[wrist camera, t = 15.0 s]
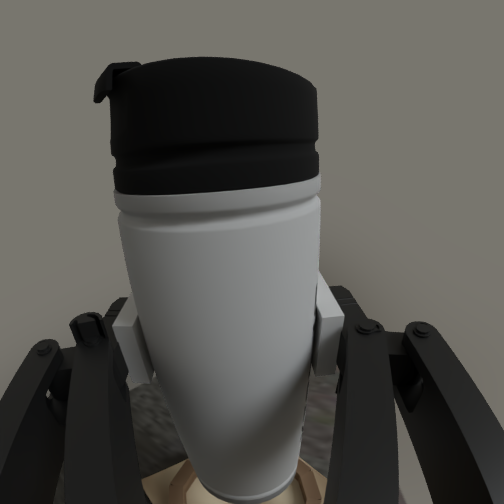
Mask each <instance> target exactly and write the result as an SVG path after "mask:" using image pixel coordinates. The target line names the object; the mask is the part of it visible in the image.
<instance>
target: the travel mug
mask: <svg viewBox="0 0 504 504" xmlns="http://www.w3.org/2000/svg"><path fill="white" fill-rule="evenodd" d="M106 96H108V98H109V99H110V115H111V116H110V117H111V140H110V144H111V154H112V156H114V157H115V159H116V167H115V168H114V169H113V175H114V183H115V190H114V198H115V203H116V206H117V207H118V208H119V209H120V210H121V212H120V213H119V217H118V224H119V229H120V236H121V241H122V246H123V252H124V257H125V261H126V266H127V271H128V275H129V280H130V284H131V288H132V293H133V297H134V301H135V305H136V309H137V313H138V316H139V320H140V324H141V327H142V331H143V334H144V338H145V341H146V345H147V348H148V351H149V354H150V358H151V361H152V364H153V367H154V370H155V373H156V376H157V379H158V382H159V385H160V388H161V390H162V393H163V396H164V399H165V401H166V404H167V407H168V409H169V412H170V415H171V417H172V420H173V422H174V425H175V427H176V430H177V432H178V435H179V437H180V439H181V442H182V444H183V446H184V449H185V451H186V453H187V455H188V458H189V460H190V462H191V464H192V466H193V469H194V470H195V473H196V475H197V477H198V479H199V481H200V482H201V484H202V485H203V487H204V488H205V489H206V490H207V491H208V492H209V493H210V494H212V495H213V496H215V497H216V498H218V499H220V500H223V501H225V502H228V503H232V504H260V503H263V502H266V501H269V500H271V499H273V498H275V497H277V496H278V495H280V494H281V493H282V492H283V491H285V490H286V489H287V488H288V486H289V485H290V484H291V482H292V481H293V479H294V476H295V474H296V469H297V464H298V457H299V452H300V445H301V439H302V432H303V425H304V418H305V411H306V403H307V396H308V387H309V379H310V370H311V360H312V350H313V339H314V328H315V315H316V302H317V286H318V267H319V245H320V243H319V242H320V210H321V209H320V208H321V207H320V206H321V201H320V199H319V198H318V197H317V195H316V194H317V193H318V192H319V191H320V189H321V173H319V154H318V152H316V151H315V142H316V141H317V140H318V110H317V91H316V88H315V87H314V86H313V85H312V84H311V82H310V81H308V80H306V79H305V78H303V77H301V76H300V75H298V74H296V73H293V72H291V71H288V70H286V69H283V68H280V67H276V66H272V65H269V64H265V63H260V62H255V61H249V60H243V59H235V58H223V57H188V58H173V59H167V60H161V61H156V62H150V63H146V64H143V65H141V64H140V63H139V62H122V63H112V64H110V65H108V67H107V68H106V69H105V71H104V72H103V73H102V74H101V76H100V77H99V78H98V80H97V82H96V84H95V90H94V102H95V103H101V102H102V100H103V99H104V98H105V97H106Z"/></svg>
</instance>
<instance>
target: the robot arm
mask: <svg viewBox="0 0 504 504" xmlns="http://www.w3.org/2000/svg"><path fill="white" fill-rule="evenodd" d="M69 326H70V328H71V331H72V333H73V336H74V339H75V341H76V343H77V344H76V346H75V347H70V348H64V349H60V346H59V344H58V342H57V341H55V340H52V339H45V340H42V341H39V342H38V343H37V344H35V345H34V346H33V348H31V350H30V351H29V353H28V355H27V356H26V358H25V359H24V361H23V363H22V364H21V366H20V367H19V369H18V371H17V372H16V374H15V376H14V377H13V379H12V381H11V383H10V384H9V386H8V388H7V390H6V391H5V393H4V395H3V397H2V399H1V400H0V504H53V499H54V495H55V490H56V486H57V482H58V478H59V474H60V470H61V467H62V463H63V459H64V489H65V504H147V503H146V499H145V495H144V490H143V485H142V480H141V475H140V470H139V464H138V459H137V453H136V446H135V439H134V432H133V425H132V416H131V407H130V397H129V388H128V386H127V383H126V378H127V375H128V372H129V375H130V377H131V380H132V382H133V383H150V384H151V380H152V377H153V373H154V367H153V364H152V361H151V358H150V354H149V351H148V348H147V345H146V341H145V338H144V334H143V331H142V327H141V324H140V320H139V316H138V313H137V309H136V305H135V301H134V297H133V293H132V292H131V294H130V296H129V297H126V298H119V299H117V300H116V301H115V302H114V303H112V305H111V306H110V308H109V309H108V312H107V313H106V314H105V317H103V318H102V316H101V315H100V314H99V313H95V312H88V313H84V314H81V315H79V316H77V317H75V318H74V319H73V320H72V321H71V322H70V324H69ZM311 364H312V367H313V370H314V374H315V377H317V376H325V375H332V374H335V370H336V365H338V368H339V370H340V374H339V379H338V383H337V388H336V393H337V403H336V414H335V424H334V434H333V442H332V450H331V458H330V465H329V472H328V479H327V485H326V491H325V497H324V503H323V504H398V497H399V476H398V475H399V470H398V442H397V426H396V413H395V403H394V398H395V400H396V403H397V405H398V408H399V410H400V413H401V415H402V418H403V420H404V422H405V425H406V428H407V430H408V433H409V436H410V438H411V441H412V444H413V446H414V449H415V451H416V454H417V457H418V460H419V463H420V465H421V468H422V471H423V474H424V477H425V480H426V483H427V485H428V489H429V492H430V495H431V498H432V501H433V504H504V430H503V429H502V427H501V425H500V423H499V422H498V420H497V418H496V417H495V415H494V413H493V412H492V410H491V408H490V407H489V405H488V403H487V402H486V400H485V399H484V397H483V395H482V394H481V392H480V391H479V389H478V388H477V386H476V385H475V383H474V382H473V380H472V379H471V377H470V376H469V374H468V373H467V371H466V370H465V368H464V367H463V365H462V364H461V362H460V361H459V360H458V358H457V357H456V355H455V354H454V352H453V351H452V350H451V348H450V347H449V346H448V344H447V343H446V341H445V340H444V339H443V337H442V336H441V335H440V333H439V332H438V331H437V329H436V328H435V327H433V326H432V325H430V324H428V323H426V322H411V323H409V324H408V325H407V326H406V329H405V332H404V333H400V332H388V331H385V330H384V328H383V326H382V325H381V324H380V323H379V322H377V321H375V320H372V319H368V318H367V317H366V315H365V314H364V313H363V311H362V309H361V308H360V306H359V305H358V304H357V302H356V300H355V299H354V298H353V296H352V294H351V293H350V291H349V290H347V289H346V288H344V287H342V286H331V287H328V286H327V284H326V282H325V281H324V279H323V277H322V275H321V274H320V272H319V271H318V286H317V302H316V315H315V328H314V339H313V350H312V360H311ZM48 389H49V391H50V396H49V397H48V398H47V396H46V393H47V391H48Z"/></svg>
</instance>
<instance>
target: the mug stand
mask: <svg viewBox="0 0 504 504" xmlns="http://www.w3.org/2000/svg"><path fill="white" fill-rule="evenodd" d="M141 480H142V485H143V489H144V491H145V492H146V494H147V496H148V497H149V499H150V500H151V502H152V503H153V504H232V503H228V502H225V501H223V500H220V499H218V498H216V497H215V496H213V495H212V494H210V493H209V492H208V491H207V490H206V489H205V488H204V487H203V485H202V484H201V482H200V481H199V479H198V477H197V475H196V473H195V470H194V469H193V466H192V464H191V462H190V460H189V458H188V459H186V460H184V461H182V462H180V463H178V464H176V465H174V466H171V467H169V468H167V469H165V470H162V471H160V472H158V473H156V474H153V475H151V476H148V477H146V478H144V479H141ZM326 485H327V478H325V477H324V476H323V475H321V474H320V473H319V472H317V471H316V470H315V469H314V468H312V467H311V466H310V465H308V464H307V463H306V462H305V461H304V460H302V459H301V458H300V457H298V464H297V469H296V474H295V476H294V479H293V481H292V482H291V484H290V485H289V486H288V488H287V489H286V490H285V491H283V492H282V493H281V494H280V495H278V496H277V497H275V498H273V499H271V500H269V501H266V502H263V503H260V504H323V503H324V497H325V491H326Z"/></svg>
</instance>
